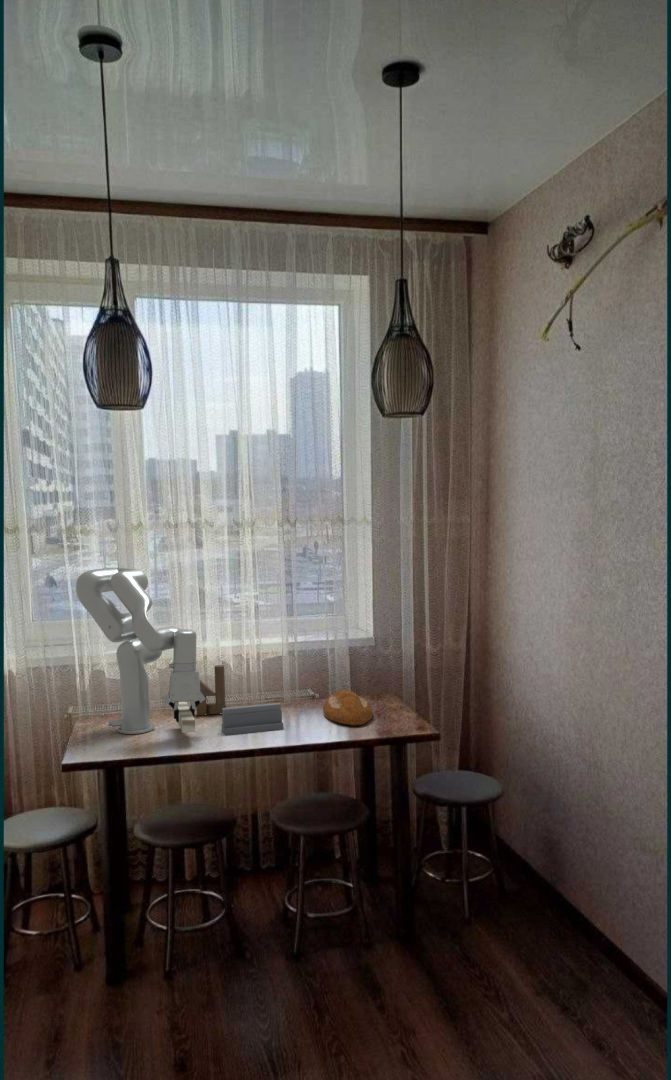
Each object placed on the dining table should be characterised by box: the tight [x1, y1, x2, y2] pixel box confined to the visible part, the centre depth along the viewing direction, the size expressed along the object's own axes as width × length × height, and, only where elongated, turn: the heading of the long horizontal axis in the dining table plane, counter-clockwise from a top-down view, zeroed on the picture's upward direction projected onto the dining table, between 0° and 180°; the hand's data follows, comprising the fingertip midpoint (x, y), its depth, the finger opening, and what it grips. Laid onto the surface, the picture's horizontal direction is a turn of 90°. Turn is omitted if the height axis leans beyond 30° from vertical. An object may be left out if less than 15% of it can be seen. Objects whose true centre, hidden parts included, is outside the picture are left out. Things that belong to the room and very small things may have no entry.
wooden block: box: [196, 664, 227, 716], centre depth 314 cm, size 4×11×18 cm, turn 98°
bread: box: [322, 689, 374, 727], centre depth 307 cm, size 18×35×9 cm, turn 8°
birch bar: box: [177, 701, 196, 734], centre depth 285 cm, size 24×4×4 cm, turn 17°
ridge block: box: [221, 702, 284, 736], centre depth 291 cm, size 20×8×8 cm, turn 107°
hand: (184, 719), depth 286 cm, fingers closed on birch bar, 4 cm apart
